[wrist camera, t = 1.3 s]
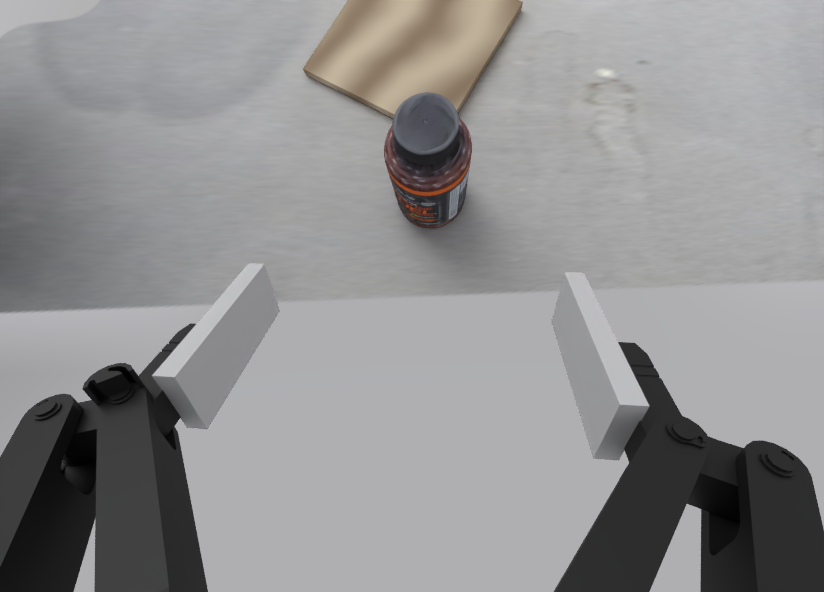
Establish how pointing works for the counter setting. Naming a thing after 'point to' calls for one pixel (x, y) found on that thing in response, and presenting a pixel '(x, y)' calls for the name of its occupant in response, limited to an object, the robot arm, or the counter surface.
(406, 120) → the supplement bottle
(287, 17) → the counter surface
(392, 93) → the oak pad
